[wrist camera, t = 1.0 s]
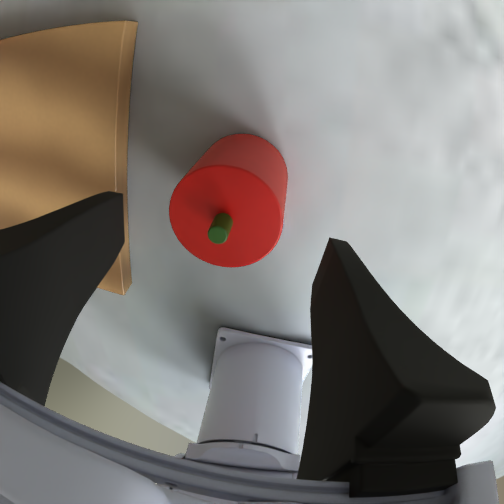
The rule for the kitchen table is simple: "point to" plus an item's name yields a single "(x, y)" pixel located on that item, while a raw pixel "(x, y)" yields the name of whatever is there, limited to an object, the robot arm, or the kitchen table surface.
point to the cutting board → (66, 123)
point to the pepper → (231, 202)
